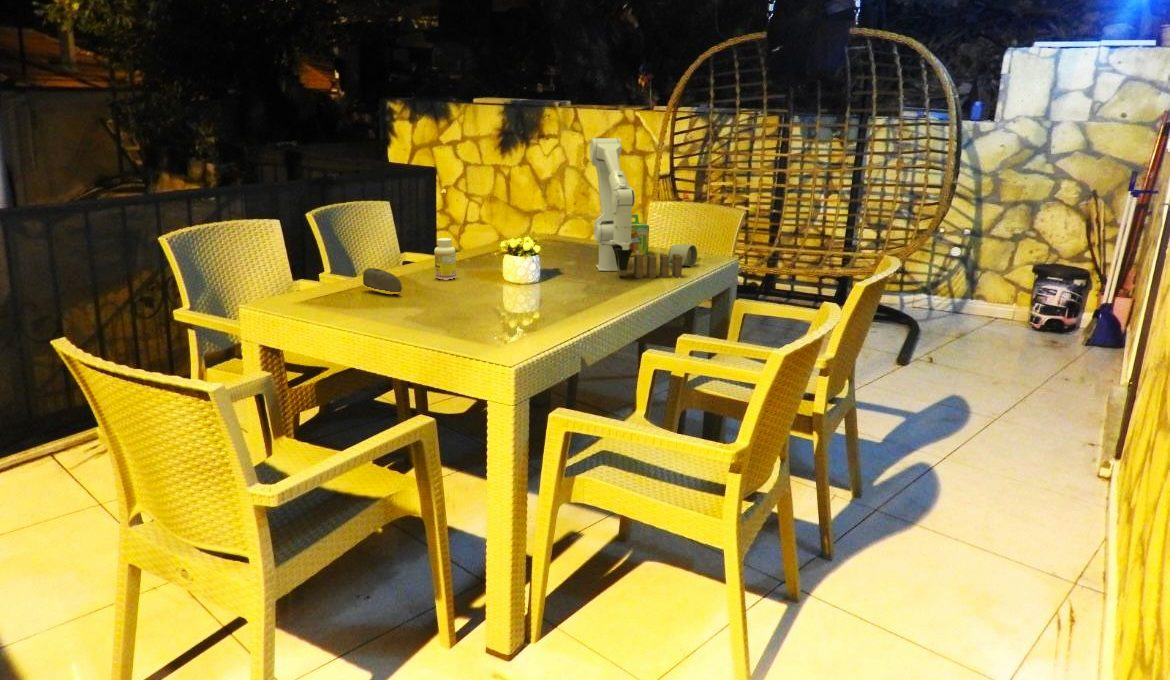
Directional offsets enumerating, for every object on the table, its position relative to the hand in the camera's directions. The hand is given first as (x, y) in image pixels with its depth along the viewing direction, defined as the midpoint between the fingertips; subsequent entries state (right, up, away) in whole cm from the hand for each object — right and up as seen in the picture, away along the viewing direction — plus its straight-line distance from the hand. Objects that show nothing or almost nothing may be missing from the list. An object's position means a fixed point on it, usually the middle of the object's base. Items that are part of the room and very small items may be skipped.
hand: (621, 268), depth 277 cm
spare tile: (0, -2, 0) cm, 2 cm away
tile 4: (+14, -2, +2) cm, 14 cm away
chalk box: (+6, +9, +42) cm, 44 cm away
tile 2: (+5, -3, +1) cm, 6 cm away
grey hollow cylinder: (+22, +2, +21) cm, 30 cm away
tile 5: (+18, -2, +3) cm, 19 cm away
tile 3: (+10, -3, +2) cm, 10 cm away
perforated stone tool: (-71, -10, -25) cm, 76 cm away
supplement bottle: (-57, -4, -4) cm, 57 cm away
